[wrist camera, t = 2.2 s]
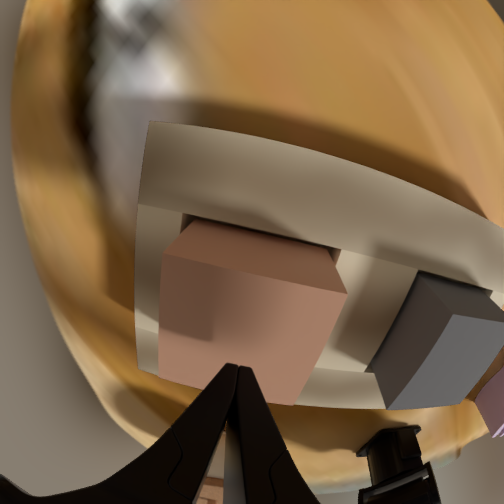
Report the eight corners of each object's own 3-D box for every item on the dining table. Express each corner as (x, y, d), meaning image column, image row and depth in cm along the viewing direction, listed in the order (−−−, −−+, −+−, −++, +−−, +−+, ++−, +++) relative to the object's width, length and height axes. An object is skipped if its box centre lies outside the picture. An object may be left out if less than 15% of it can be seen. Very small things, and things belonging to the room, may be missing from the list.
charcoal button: (437, 363, 15) (459, 403, 11) (368, 359, 14) (386, 410, 11) (480, 289, 12) (516, 324, 9) (414, 270, 12) (452, 314, 8)
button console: (416, 369, 19) (433, 405, 15) (160, 327, 19) (138, 368, 15) (490, 223, 14) (528, 244, 10) (182, 126, 14) (149, 120, 10)
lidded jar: (263, 463, 27) (258, 524, 19) (180, 451, 28) (165, 509, 19) (277, 426, 23) (275, 507, 15) (172, 410, 23) (146, 486, 15)
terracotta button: (290, 348, 14) (293, 405, 11) (182, 325, 14) (158, 377, 11) (326, 248, 12) (348, 294, 8) (195, 218, 12) (162, 252, 8)
